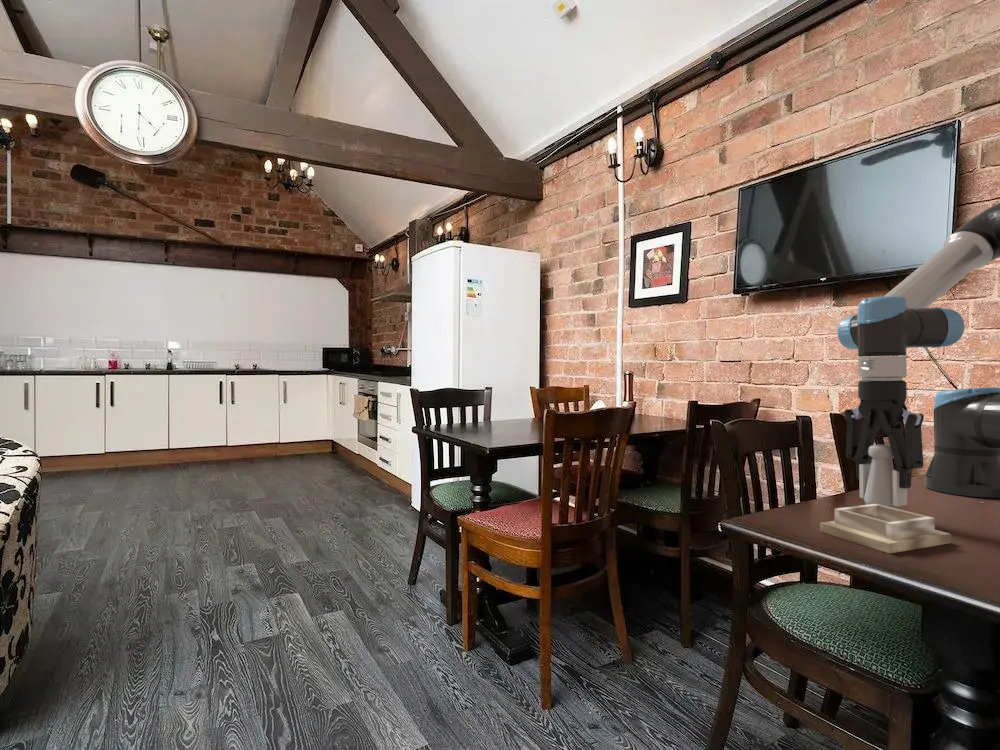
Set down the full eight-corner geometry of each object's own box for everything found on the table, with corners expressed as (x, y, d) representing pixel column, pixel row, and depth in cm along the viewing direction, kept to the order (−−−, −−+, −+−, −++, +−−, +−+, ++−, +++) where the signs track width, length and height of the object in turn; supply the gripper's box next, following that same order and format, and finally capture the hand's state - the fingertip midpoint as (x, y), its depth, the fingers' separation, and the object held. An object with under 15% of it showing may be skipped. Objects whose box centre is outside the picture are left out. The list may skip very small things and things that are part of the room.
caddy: (877, 523, 99) (877, 501, 99) (950, 543, 88) (951, 518, 88) (819, 531, 94) (819, 508, 94) (888, 553, 83) (888, 527, 83)
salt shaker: (909, 516, 101) (909, 446, 101) (880, 518, 100) (879, 447, 100) (885, 508, 107) (884, 442, 106) (857, 509, 106) (856, 443, 106)
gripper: (823, 378, 111) (824, 492, 111) (920, 380, 93) (921, 515, 93) (850, 377, 113) (851, 488, 114) (950, 379, 95) (950, 511, 96)
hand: (882, 500), depth 104 cm, fingers closed on salt shaker, 6 cm apart
